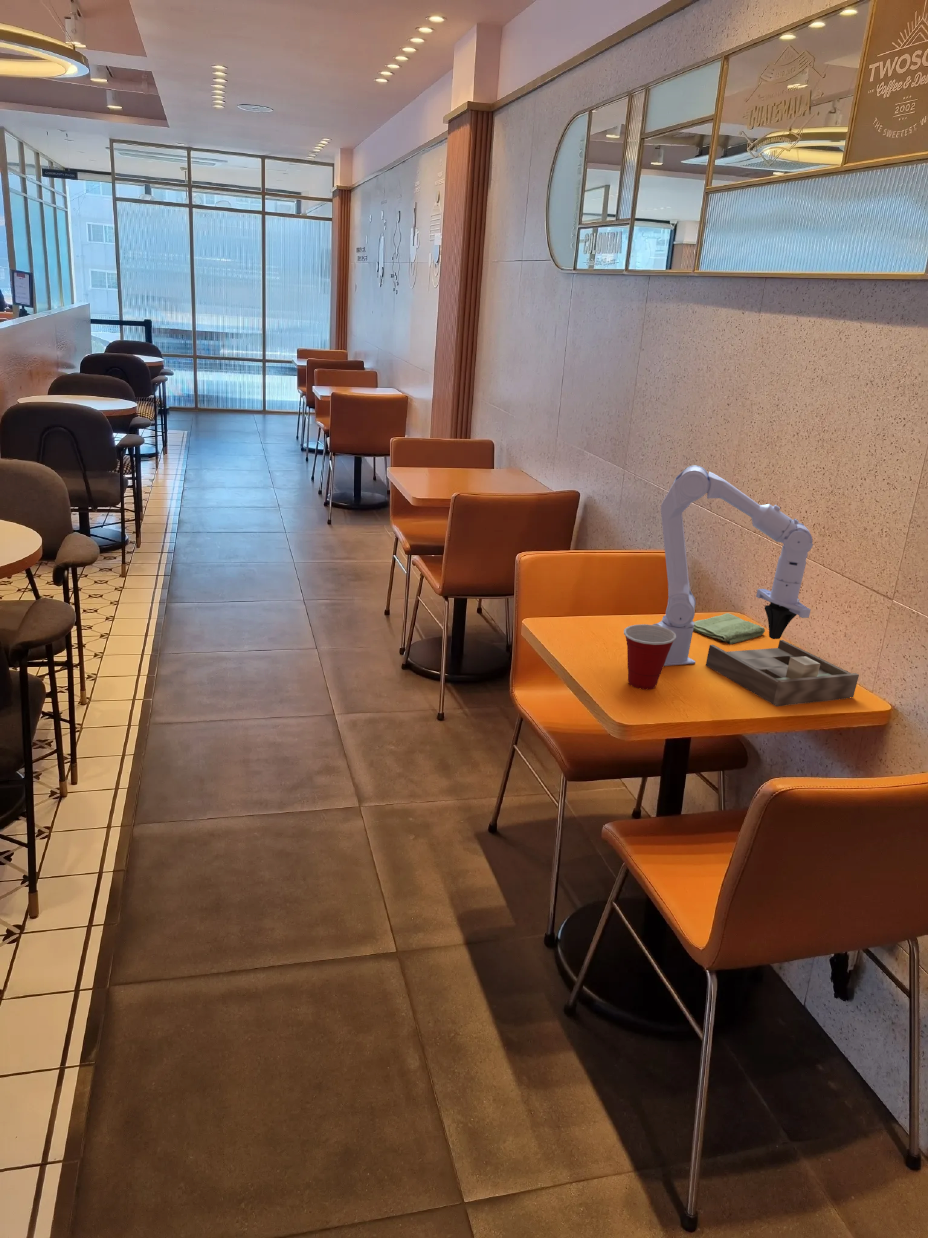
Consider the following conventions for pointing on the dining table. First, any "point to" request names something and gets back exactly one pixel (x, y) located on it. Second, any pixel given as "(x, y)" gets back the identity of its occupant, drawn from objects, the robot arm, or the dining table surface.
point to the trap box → (782, 675)
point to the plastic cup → (647, 653)
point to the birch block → (802, 668)
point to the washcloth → (728, 628)
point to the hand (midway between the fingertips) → (774, 637)
